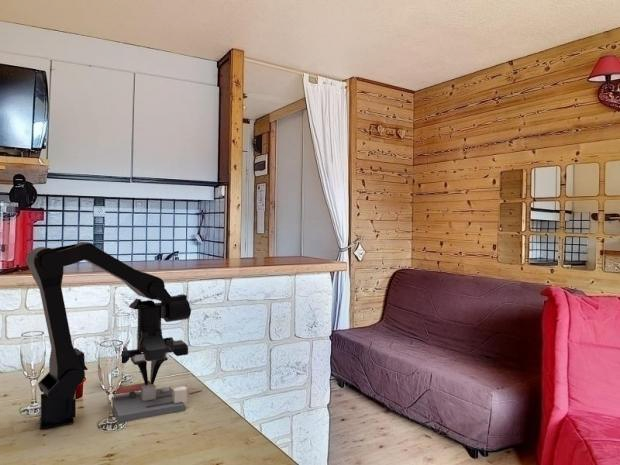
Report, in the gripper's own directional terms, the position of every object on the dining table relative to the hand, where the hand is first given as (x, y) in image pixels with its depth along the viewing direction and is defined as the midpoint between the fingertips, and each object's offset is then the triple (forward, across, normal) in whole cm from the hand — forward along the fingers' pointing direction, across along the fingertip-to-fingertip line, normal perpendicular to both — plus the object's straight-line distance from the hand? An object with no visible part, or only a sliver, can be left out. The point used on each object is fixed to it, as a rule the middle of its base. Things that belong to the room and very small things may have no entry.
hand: (149, 385), depth 118 cm
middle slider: (+2, -1, -4) cm, 5 cm away
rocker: (0, -4, 0) cm, 4 cm away
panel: (+4, -2, -4) cm, 6 cm away
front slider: (+2, +5, -9) cm, 11 cm away
